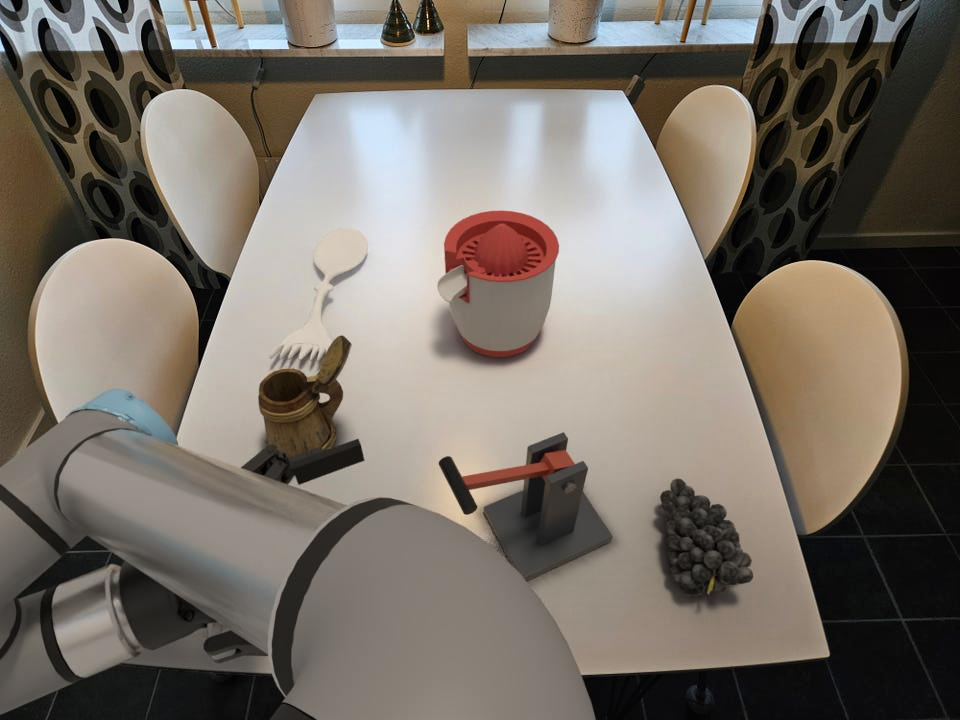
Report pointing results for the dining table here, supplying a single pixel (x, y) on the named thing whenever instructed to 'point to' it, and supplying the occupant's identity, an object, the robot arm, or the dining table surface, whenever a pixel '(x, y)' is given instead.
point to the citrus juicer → (499, 280)
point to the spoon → (324, 291)
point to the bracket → (547, 517)
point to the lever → (499, 476)
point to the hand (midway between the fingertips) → (385, 506)
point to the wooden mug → (303, 404)
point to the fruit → (701, 542)
